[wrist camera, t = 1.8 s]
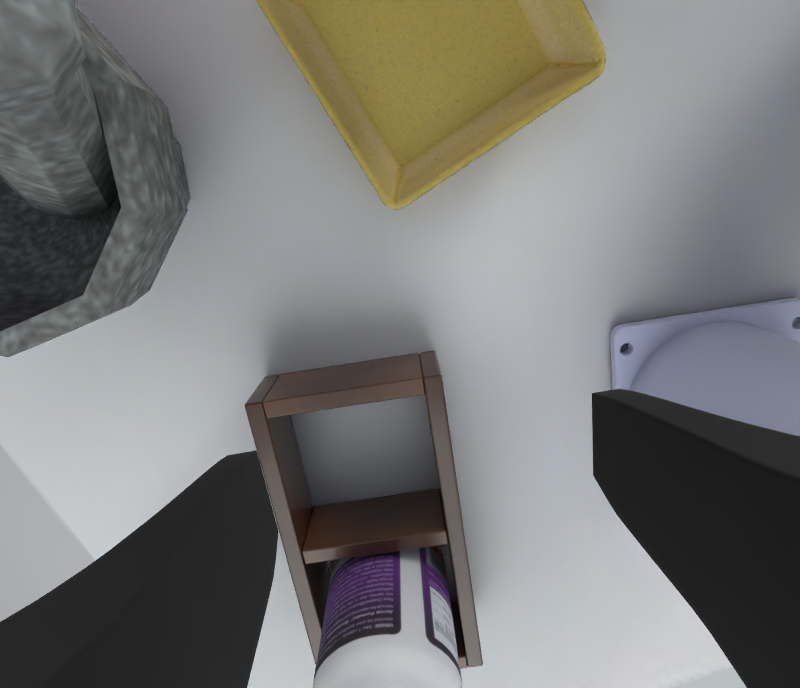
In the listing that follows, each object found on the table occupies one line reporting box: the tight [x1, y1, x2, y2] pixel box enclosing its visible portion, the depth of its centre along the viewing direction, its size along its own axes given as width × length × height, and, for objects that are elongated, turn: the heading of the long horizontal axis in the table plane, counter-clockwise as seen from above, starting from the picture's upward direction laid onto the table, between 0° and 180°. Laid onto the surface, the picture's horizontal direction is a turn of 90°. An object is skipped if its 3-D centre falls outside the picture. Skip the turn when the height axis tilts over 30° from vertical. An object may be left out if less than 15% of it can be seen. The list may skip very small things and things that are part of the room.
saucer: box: [256, 0, 606, 210], centre depth 16 cm, size 9×9×2 cm
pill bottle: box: [313, 546, 462, 688], centre depth 19 cm, size 5×5×10 cm
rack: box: [245, 351, 483, 669], centre depth 21 cm, size 7×14×3 cm, turn 9°
